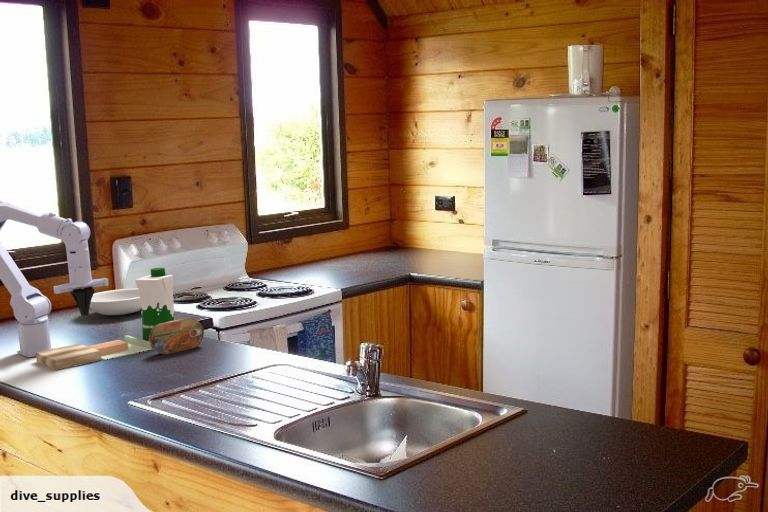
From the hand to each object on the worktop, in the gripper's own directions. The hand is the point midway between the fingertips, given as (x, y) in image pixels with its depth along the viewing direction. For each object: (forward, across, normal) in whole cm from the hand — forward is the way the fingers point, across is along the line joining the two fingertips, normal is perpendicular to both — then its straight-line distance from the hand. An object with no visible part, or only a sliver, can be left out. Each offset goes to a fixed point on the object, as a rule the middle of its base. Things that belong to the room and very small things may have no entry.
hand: (84, 315), depth 249 cm
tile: (+10, +3, -6) cm, 12 cm away
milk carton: (+10, +20, -2) cm, 23 cm away
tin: (+10, +17, -20) cm, 28 cm away
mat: (+10, +6, -5) cm, 13 cm away
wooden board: (+10, -8, -6) cm, 14 cm away
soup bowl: (+10, +29, +45) cm, 55 cm away
